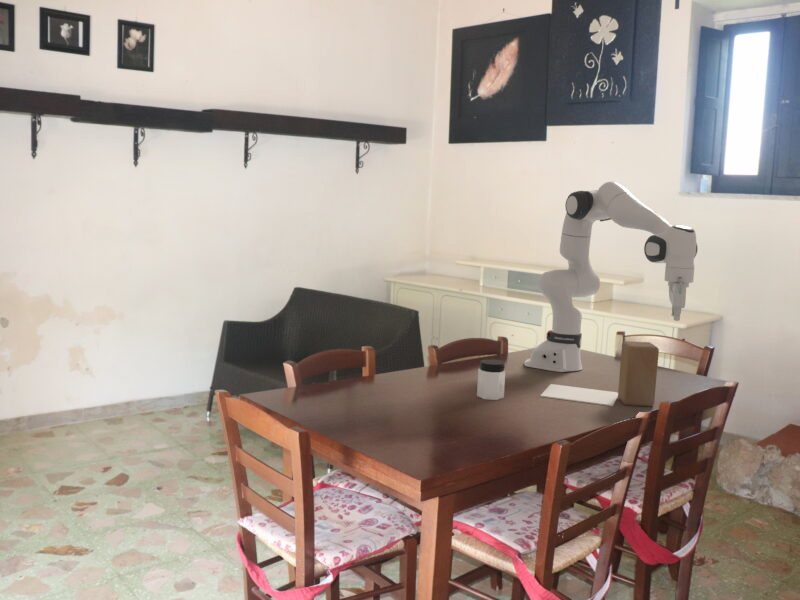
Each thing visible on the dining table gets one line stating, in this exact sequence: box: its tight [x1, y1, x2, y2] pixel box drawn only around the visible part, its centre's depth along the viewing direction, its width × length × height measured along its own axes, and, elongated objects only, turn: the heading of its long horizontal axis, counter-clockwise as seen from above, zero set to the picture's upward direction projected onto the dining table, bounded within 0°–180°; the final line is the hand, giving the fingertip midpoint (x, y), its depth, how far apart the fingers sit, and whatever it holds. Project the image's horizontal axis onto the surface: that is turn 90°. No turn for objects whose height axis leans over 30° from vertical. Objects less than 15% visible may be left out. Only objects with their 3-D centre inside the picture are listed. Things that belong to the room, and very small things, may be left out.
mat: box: [540, 383, 619, 407], centre depth 275 cm, size 24×18×1 cm
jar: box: [476, 358, 506, 401], centre depth 267 cm, size 9×8×12 cm
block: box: [617, 340, 660, 407], centre depth 267 cm, size 10×10×20 cm
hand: (675, 318), depth 260 cm, fingers open, 8 cm apart
